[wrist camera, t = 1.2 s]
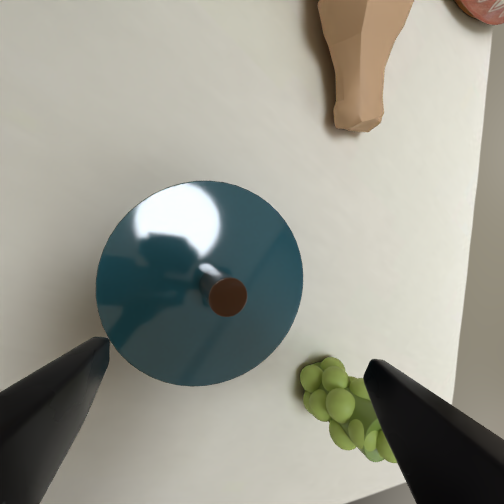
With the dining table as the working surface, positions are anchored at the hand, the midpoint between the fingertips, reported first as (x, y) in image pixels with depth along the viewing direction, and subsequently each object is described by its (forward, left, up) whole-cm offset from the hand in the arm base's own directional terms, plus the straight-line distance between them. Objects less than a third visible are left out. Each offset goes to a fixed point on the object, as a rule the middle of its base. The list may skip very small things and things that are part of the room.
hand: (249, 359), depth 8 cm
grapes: (-2, -19, -16) cm, 25 cm away
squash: (+31, +1, -16) cm, 35 cm away
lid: (+1, 0, -11) cm, 11 cm away
